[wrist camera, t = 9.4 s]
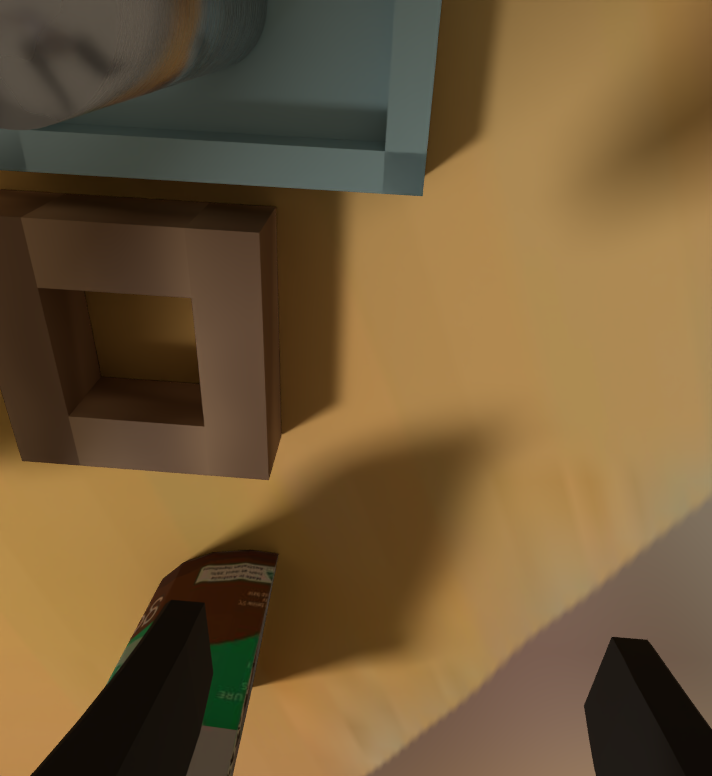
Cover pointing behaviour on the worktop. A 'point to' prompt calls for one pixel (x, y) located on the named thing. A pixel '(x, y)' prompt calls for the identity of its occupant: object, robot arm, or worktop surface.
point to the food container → (221, 642)
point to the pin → (112, 51)
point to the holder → (144, 277)
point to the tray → (273, 109)
